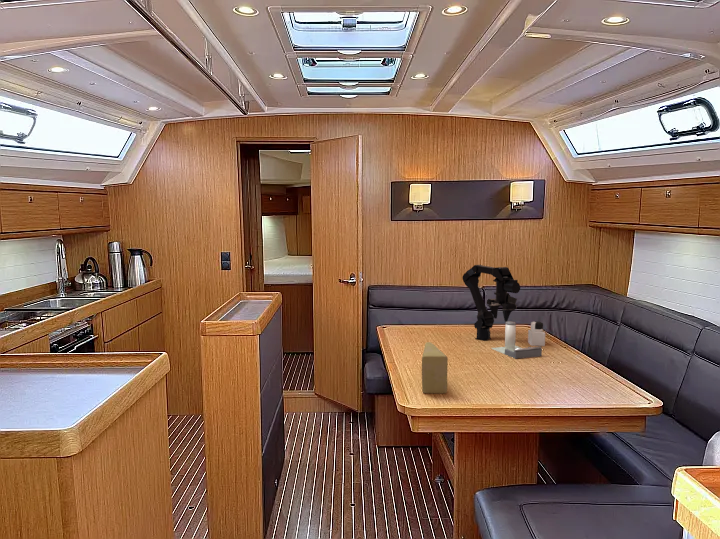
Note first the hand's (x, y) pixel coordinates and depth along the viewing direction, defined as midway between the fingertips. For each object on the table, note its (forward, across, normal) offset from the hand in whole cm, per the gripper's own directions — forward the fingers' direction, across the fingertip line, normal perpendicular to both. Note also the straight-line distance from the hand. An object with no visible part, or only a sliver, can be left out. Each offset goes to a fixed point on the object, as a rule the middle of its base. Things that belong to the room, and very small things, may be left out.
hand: (500, 320), depth 258 cm
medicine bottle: (+13, -6, -18) cm, 23 cm away
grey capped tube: (+13, -12, +2) cm, 17 cm away
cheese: (+13, -45, +64) cm, 79 cm away
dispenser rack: (+13, -21, +2) cm, 25 cm away
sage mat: (+13, -12, +2) cm, 18 cm away
